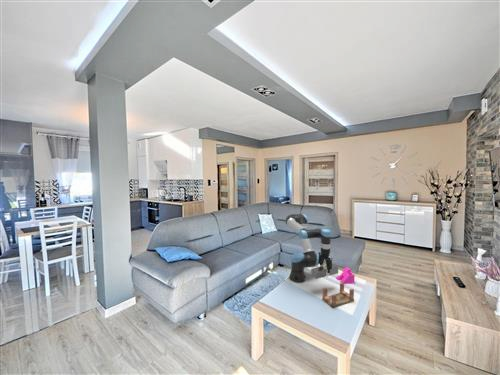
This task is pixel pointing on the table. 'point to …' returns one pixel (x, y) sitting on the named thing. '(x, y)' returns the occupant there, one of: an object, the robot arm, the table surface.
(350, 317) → the table surface
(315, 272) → the grey metal bar
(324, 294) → the stove stand
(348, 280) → the bracket
